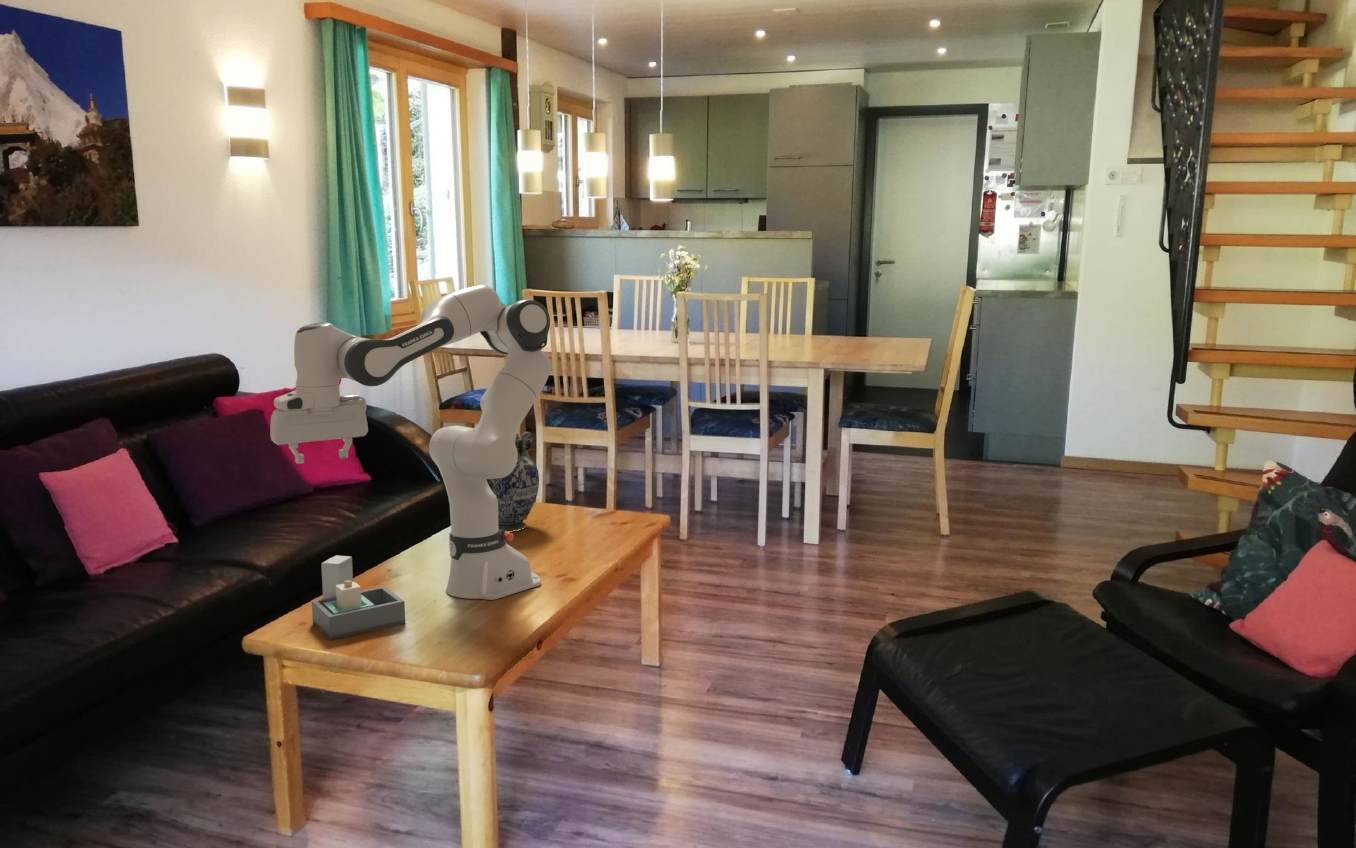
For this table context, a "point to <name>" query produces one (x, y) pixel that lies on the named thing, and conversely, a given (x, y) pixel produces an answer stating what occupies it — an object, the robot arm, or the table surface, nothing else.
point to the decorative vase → (517, 488)
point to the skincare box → (335, 574)
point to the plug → (348, 595)
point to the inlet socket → (333, 609)
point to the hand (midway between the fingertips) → (322, 460)
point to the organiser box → (360, 614)
